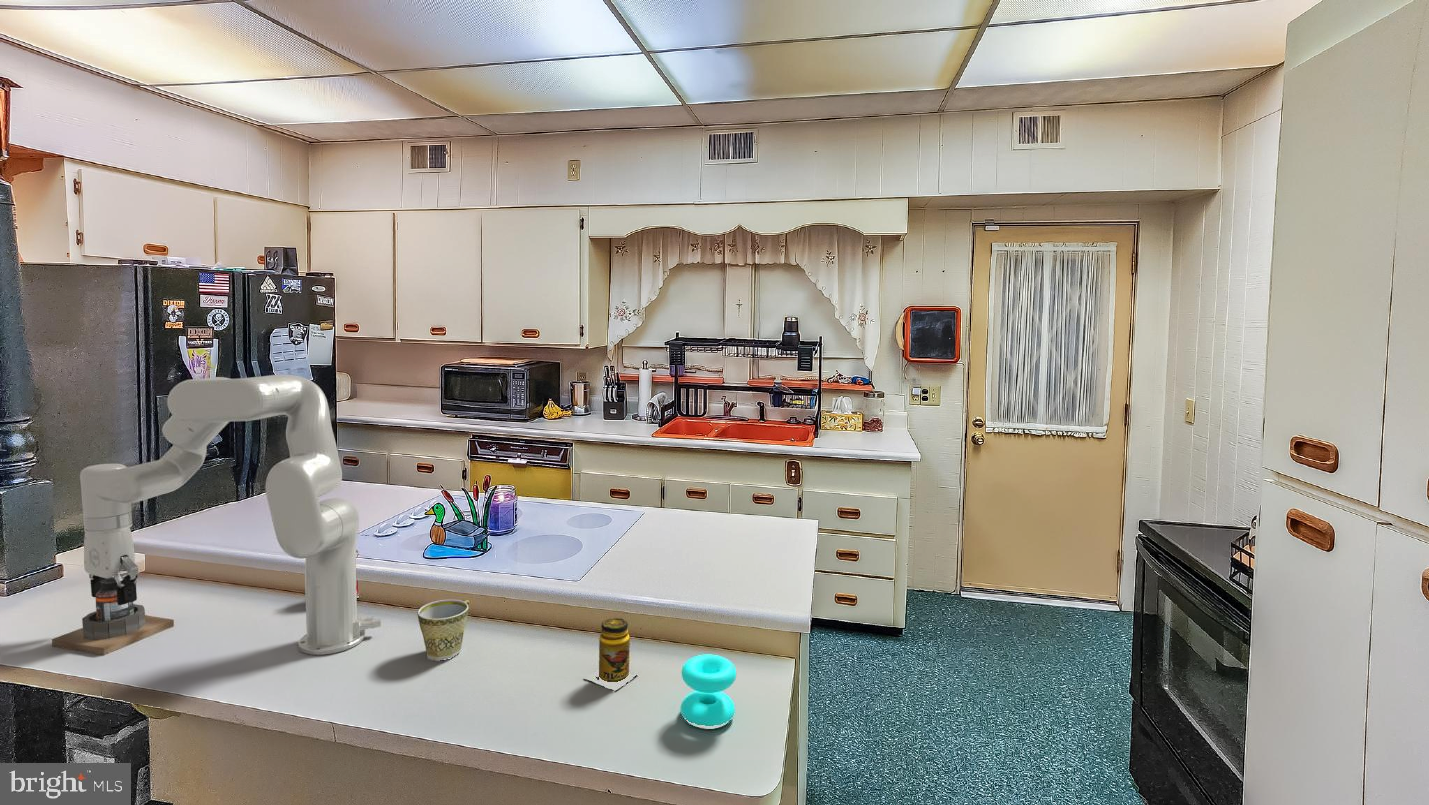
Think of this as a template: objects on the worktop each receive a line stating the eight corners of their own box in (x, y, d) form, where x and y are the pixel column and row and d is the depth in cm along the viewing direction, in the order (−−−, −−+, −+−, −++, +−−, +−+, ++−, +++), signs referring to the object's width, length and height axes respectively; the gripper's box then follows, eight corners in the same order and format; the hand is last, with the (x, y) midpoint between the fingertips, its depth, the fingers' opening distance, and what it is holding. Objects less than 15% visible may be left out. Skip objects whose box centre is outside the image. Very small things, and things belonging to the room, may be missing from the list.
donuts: (670, 664, 118) (707, 646, 125) (668, 716, 119) (705, 695, 126) (711, 685, 111) (747, 665, 118) (709, 740, 112) (745, 716, 119)
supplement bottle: (97, 628, 141) (94, 578, 140) (133, 620, 145) (131, 572, 144) (97, 638, 137) (94, 586, 136) (135, 630, 141) (132, 579, 140)
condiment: (616, 692, 126) (617, 633, 125) (582, 679, 130) (583, 622, 129) (638, 676, 132) (639, 619, 131) (605, 664, 136) (606, 609, 135)
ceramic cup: (445, 669, 132) (445, 622, 131) (407, 660, 135) (406, 614, 134) (487, 641, 144) (487, 598, 143) (451, 633, 148) (450, 591, 146)
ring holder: (125, 618, 150) (124, 597, 149) (173, 626, 147) (172, 604, 146) (52, 646, 136) (50, 623, 136) (104, 655, 133) (102, 632, 133)
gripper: (63, 521, 139) (70, 598, 140) (109, 532, 132) (115, 612, 134) (107, 512, 145) (112, 586, 147) (153, 522, 139) (158, 599, 141)
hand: (114, 598), depth 141 cm, fingers open, 9 cm apart
